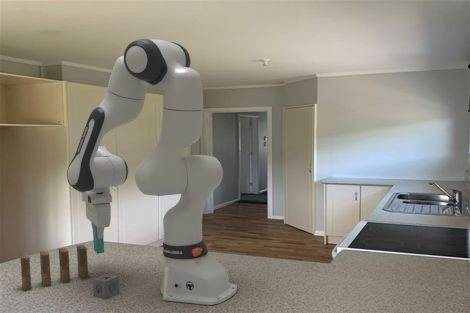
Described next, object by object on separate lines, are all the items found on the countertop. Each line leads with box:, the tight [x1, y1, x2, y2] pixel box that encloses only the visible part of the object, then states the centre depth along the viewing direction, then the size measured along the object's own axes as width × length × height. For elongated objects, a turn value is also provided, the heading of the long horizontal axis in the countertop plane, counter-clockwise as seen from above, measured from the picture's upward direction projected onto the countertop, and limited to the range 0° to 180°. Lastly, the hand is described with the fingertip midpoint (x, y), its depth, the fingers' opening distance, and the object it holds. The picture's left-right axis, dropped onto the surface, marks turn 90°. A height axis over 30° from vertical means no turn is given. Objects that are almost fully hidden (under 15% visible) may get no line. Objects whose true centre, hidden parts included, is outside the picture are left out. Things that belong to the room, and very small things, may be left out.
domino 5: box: [92, 224, 105, 255], centre depth 136 cm, size 2×5×10 cm, turn 31°
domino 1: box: [19, 253, 32, 292], centre depth 125 cm, size 2×5×10 cm, turn 30°
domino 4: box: [76, 244, 89, 281], centre depth 133 cm, size 2×5×10 cm, turn 31°
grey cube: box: [92, 273, 120, 300], centre depth 118 cm, size 5×5×5 cm
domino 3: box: [58, 247, 71, 284], centre depth 130 cm, size 2×5×10 cm, turn 30°
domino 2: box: [39, 250, 52, 288], centre depth 128 cm, size 2×5×10 cm, turn 31°
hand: (98, 236), depth 136 cm, fingers closed on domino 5, 5 cm apart
